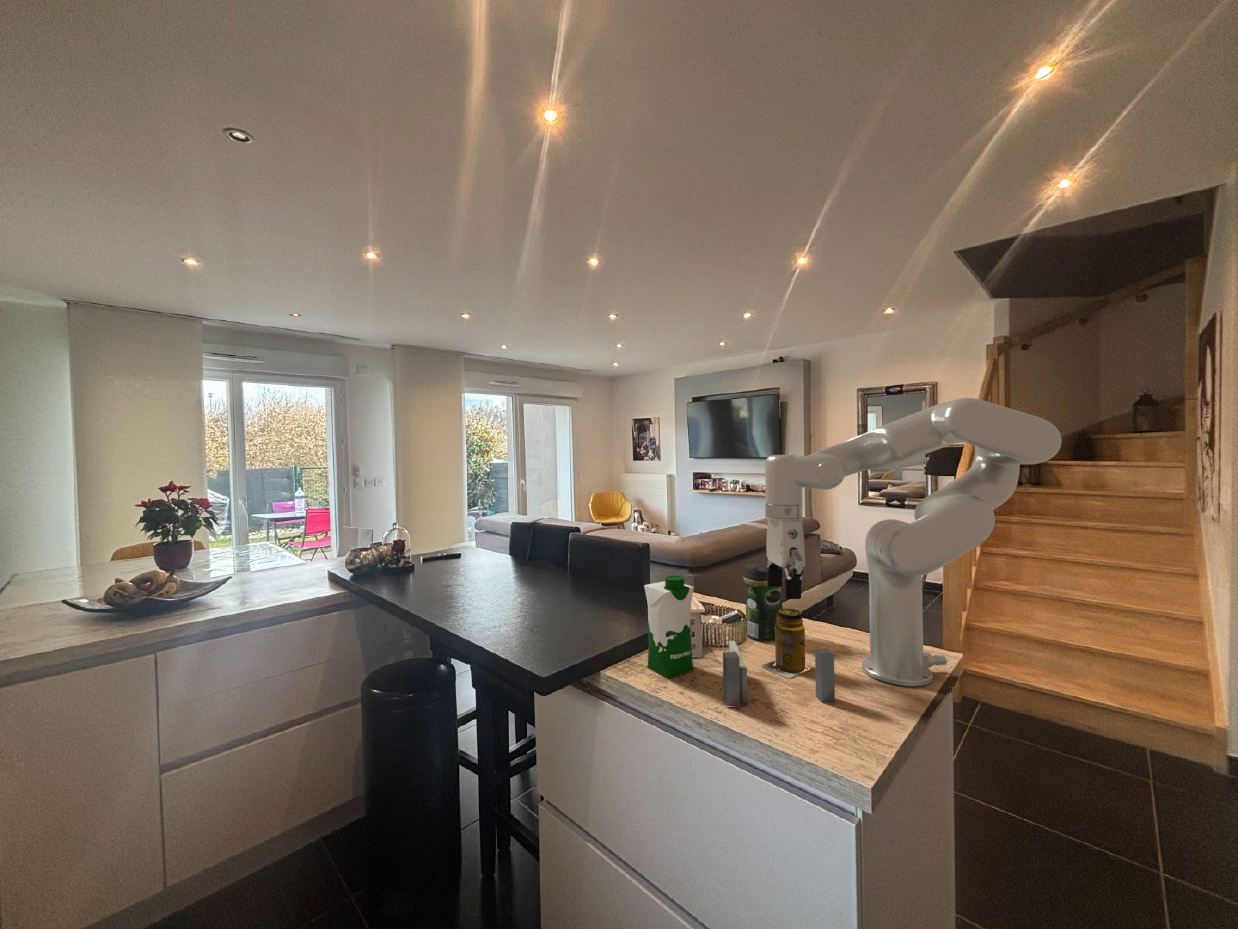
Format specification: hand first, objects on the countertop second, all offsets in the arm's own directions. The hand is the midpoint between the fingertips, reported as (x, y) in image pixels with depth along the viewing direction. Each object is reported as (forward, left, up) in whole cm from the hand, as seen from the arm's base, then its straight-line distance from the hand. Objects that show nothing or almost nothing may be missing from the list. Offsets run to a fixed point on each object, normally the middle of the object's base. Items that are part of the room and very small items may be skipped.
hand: (783, 592), depth 103 cm
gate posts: (+7, +14, -16) cm, 23 cm away
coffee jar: (-2, -19, -16) cm, 25 cm away
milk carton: (+25, -2, -16) cm, 30 cm away
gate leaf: (+13, +8, -16) cm, 22 cm away
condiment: (0, 0, -17) cm, 16 cm away
